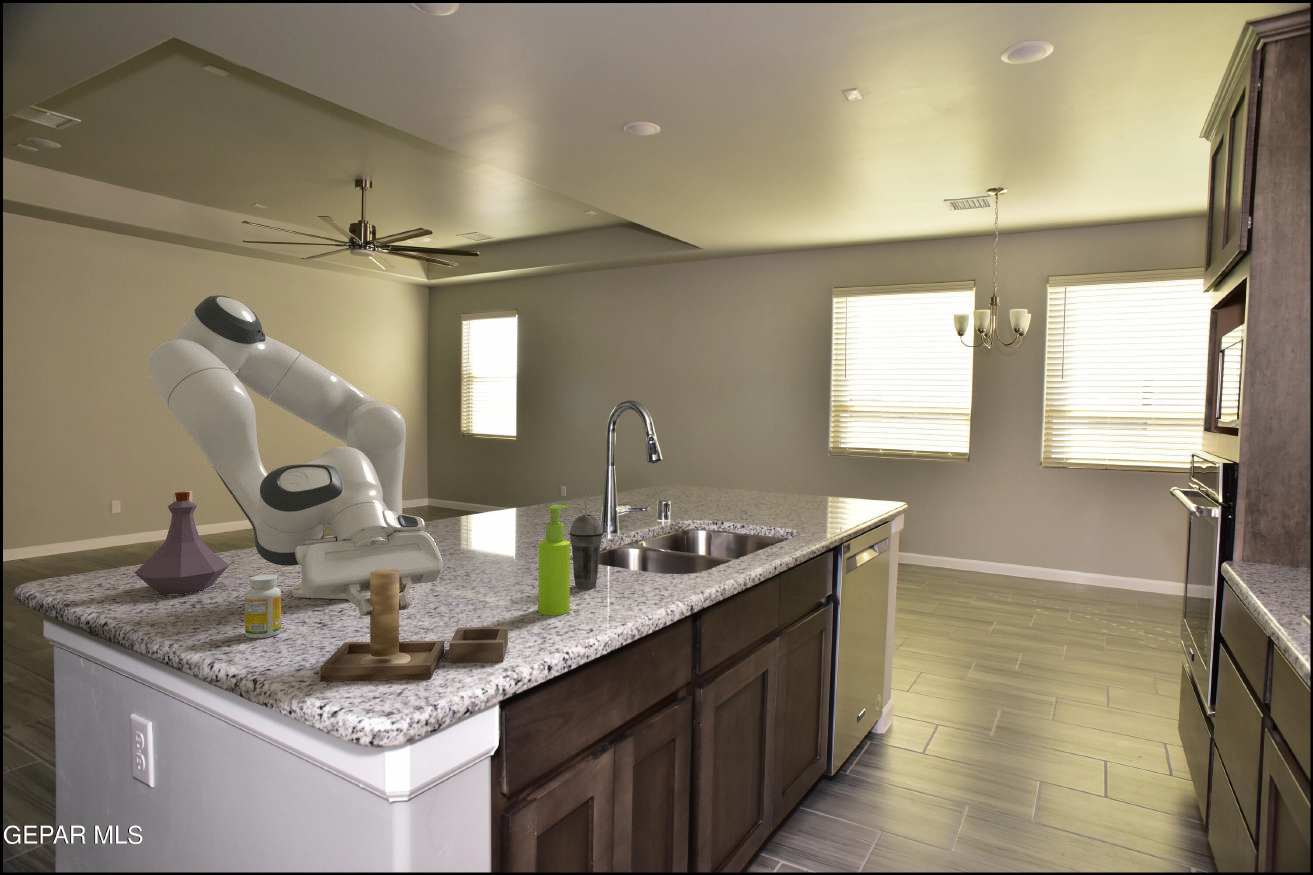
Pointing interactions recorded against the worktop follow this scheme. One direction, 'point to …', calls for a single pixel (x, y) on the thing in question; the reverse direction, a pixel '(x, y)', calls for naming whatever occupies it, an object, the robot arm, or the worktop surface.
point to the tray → (383, 662)
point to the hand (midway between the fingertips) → (386, 610)
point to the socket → (478, 644)
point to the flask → (182, 555)
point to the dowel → (384, 612)
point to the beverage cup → (585, 549)
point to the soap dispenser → (554, 567)
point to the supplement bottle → (263, 607)
